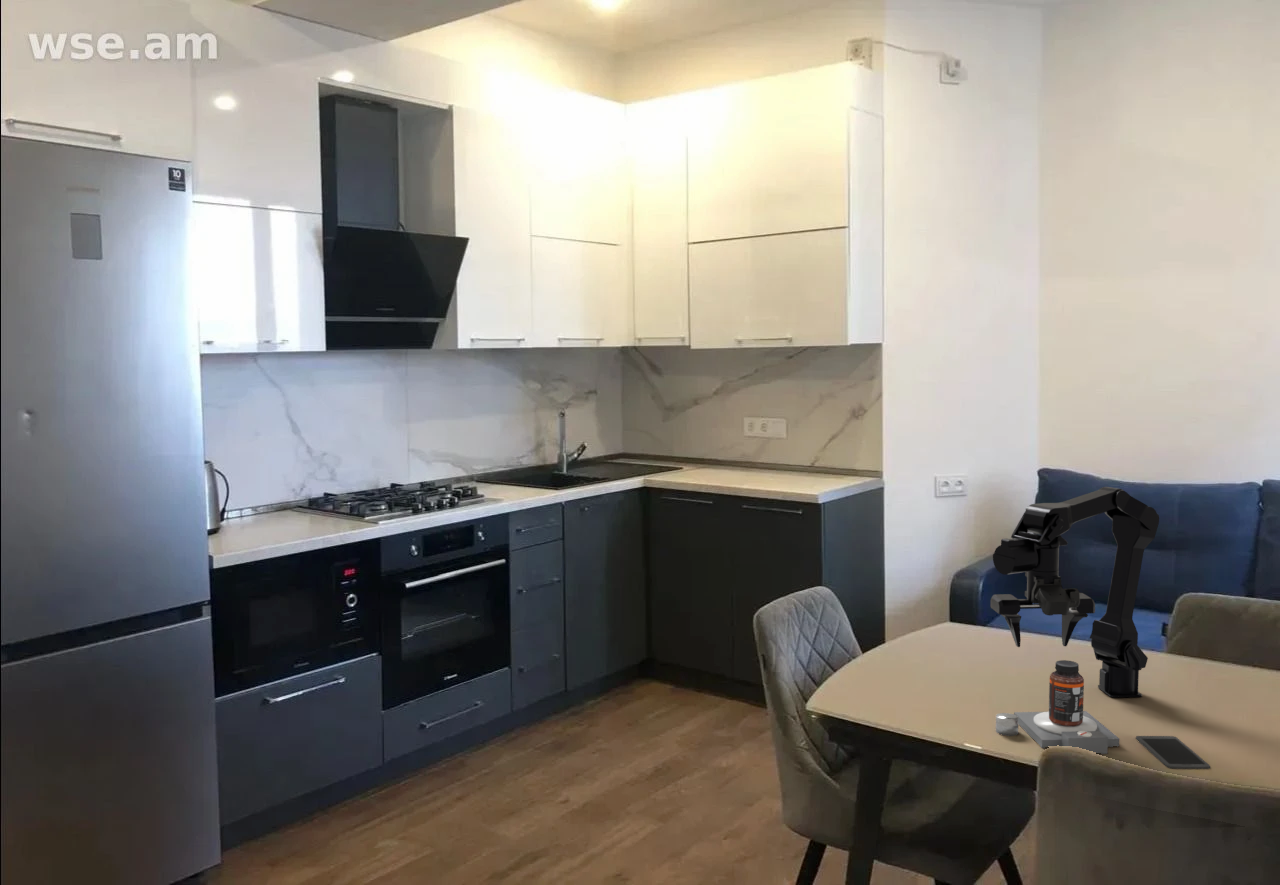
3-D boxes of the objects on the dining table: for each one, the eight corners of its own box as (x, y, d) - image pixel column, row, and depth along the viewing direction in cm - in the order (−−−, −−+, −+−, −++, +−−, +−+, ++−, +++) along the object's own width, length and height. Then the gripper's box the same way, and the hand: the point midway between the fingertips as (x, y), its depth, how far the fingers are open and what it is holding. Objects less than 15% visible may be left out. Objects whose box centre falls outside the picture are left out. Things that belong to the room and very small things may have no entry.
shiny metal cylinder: (1013, 728, 196) (1013, 712, 196) (1021, 736, 192) (1021, 720, 192) (992, 728, 196) (992, 713, 196) (999, 736, 192) (1000, 720, 192)
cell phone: (1174, 739, 190) (1175, 735, 190) (1212, 771, 176) (1212, 767, 176) (1134, 739, 190) (1134, 735, 190) (1168, 771, 176) (1168, 766, 176)
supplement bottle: (1086, 728, 189) (1087, 668, 188) (1052, 726, 190) (1053, 667, 189) (1079, 716, 195) (1080, 658, 194) (1045, 715, 196) (1047, 657, 195)
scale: (1086, 718, 200) (1086, 701, 200) (1127, 753, 183) (1127, 735, 183) (1014, 719, 200) (1014, 703, 200) (1048, 754, 183) (1048, 736, 183)
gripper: (1009, 579, 194) (1008, 659, 196) (1108, 577, 194) (1106, 658, 196) (990, 566, 205) (988, 642, 207) (1083, 564, 205) (1081, 641, 207)
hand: (1041, 646), depth 204 cm, fingers open, 9 cm apart
